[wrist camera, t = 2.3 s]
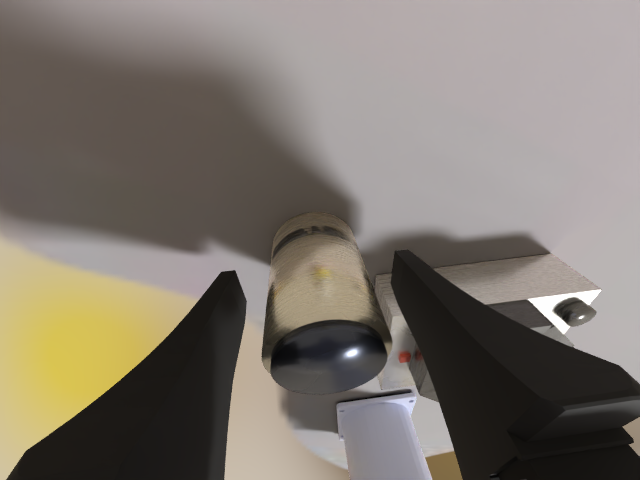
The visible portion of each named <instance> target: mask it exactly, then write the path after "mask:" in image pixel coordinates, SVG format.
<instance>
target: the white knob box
mask: <svg viewBox="0 0 640 480" xmlns="http://www.w3.org/2000/svg"><path fill="white" fill-rule="evenodd" d="M432 269H434V270H435V271H436V272H437V273H439V274H440V275H441V276H443V277H444V278H446V279H447V280H448V281H450V282H451V283H453V284H454V285H455V286H457V287H458V288H460V289H461V290H463V291H464V292H466V293H467V294H469V295H470V296H472V297H473V298H475V299H477V300H478V301H480V302H482V303H483V304H485V305H487V306H489V307H490V308H492V309H494V310H495V311H497V312H499V313H501V314H503V315H505V316H506V317H508V318H510V319H512V320H514V321H516V322H518V323H520V324H522V325H524V326H526V327H528V328H530V329H532V330H534V331H537V332H539V333H541V334H543V335H545V336H547V337H550V338H552V339H554V340H556V341H559V342H561V343H563V344H566V345H568V346H570V347H573V346H574V345H573V344H572V343H571V342H570V341H569V340H568V338H567V337H566V336H565V335H564V333H565V332H566V331H567V330H568V329H569V327H570V326H571V327H574V326H579V325H582V324H584V323H586V322H588V321H590V320H591V319H592V318H593V317H594V316H595V315H596V311H595V310H594V309H593V308H592V307H590V306H589V304H590V303H591V302H592V301H593V299H594V298H595V297H596V296H597V295H598V293H599V292H600V291H601V290H602V289H601V288H599V287H598V286H596V285H595V284H594V283H592V282H591V281H589V280H588V279H587V278H585V277H584V276H582V275H581V274H580V273H578V272H577V271H575V270H574V269H573V268H571V267H570V266H568V265H567V264H566V263H564V262H563V261H562V260H560V259H559V258H557V257H556V256H555V255H553V254H544V255H536V256H528V257H519V258H511V259H503V260H495V261H487V262H479V263H470V264H462V265H454V266H446V267H438V268H432ZM391 276H392V273H389V274H380V275H376V280H375V294H376V296H377V299H378V302H379V305H380V307H381V310H382V313H383V315H384V318H385V321H386V323H387V326H388V329H389V331H390V334H391V337H392V341H393V343H392V349H391V352H390V354H389V356H388V357H387V362H386V365H385V367H384V368H383V369H382V371H381V372H380V373H379V374H378V375H377V377H378V380H379V384H380V387H381V390H383V389H390V388H397V387H404V386H412V385H416V387H417V390H418V392H419V394H420V395H421V396H423V397H426V398H429V399H431V400H434V401H437V402H439V401H438V398H437V395H436V392H435V389H434V386H433V383H432V381H431V378H430V375H429V372H428V370H427V367H426V364H425V362H424V359H423V356H422V354H421V352H420V350H419V347H418V345H417V343H416V341H415V339H414V337H413V335H412V333H411V331H410V329H409V327H408V325H407V323H406V321H405V319H404V317H403V314H402V312H401V310H400V308H399V306H398V304H397V301H396V298H395V296H394V293H393V290H392V286H391ZM573 348H574V347H573Z"/></svg>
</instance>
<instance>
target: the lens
mask: <svg viewBox="0 0 640 480" xmlns="http://www.w3.org/2000/svg"><path fill="white" fill-rule="evenodd" d="M392 343H393V341H392V337H391V334H390V331H389V329H388V326H387V323H386V321H385V318H384V315H383V313H382V310H381V307H380V305H379V302H378V299H377V296H376V294H375V291H374V288H373V286H372V283H371V280H370V278H369V275H368V272H367V270H366V267H365V264H364V262H363V259H362V256H361V254H360V251H359V248H358V246H357V243H356V240H355V238H354V235H353V233H352V231H351V229H350V227H349V226H348V225H347V224H346V223H345V222H344V221H343V220H341V219H340V218H338V217H336V216H334V215H331V214H328V213H323V212H309V213H304V214H300V215H298V216H295V217H293V218H291V219H290V220H288V221H287V222H285V223H284V224H283V225H282V226H281V227H280V228H279V230H278V231H277V233H276V235H275V237H274V240H273V245H272V255H271V265H270V275H269V286H268V296H267V306H266V316H265V326H264V336H263V347H262V362H263V365H264V367H265V369H266V370H267V371H268V372H269V373H270V374H271V375H272V377H273V379H274V380H275V381H276V382H277V383H278V384H279V385H280V386H282V387H284V388H286V389H288V390H291V391H294V392H298V393H304V394H331V393H337V392H342V391H346V390H349V389H353V388H355V387H358V386H360V385H362V384H364V383H366V382H368V381H370V380H371V379H373V378H374V377H375V376H377V375H378V374H379V373H380V372H381V371H382V369H383V368H384V367H385V365H386V362H387V357H388V356H389V354H390V352H391V349H392Z"/></svg>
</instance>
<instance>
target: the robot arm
mask: <svg viewBox="0 0 640 480" xmlns="http://www.w3.org/2000/svg"><path fill="white" fill-rule="evenodd" d="M391 286H392V290H393V293H394V296H395V298H396V301H397V304H398V306H399V308H400V310H401V312H402V314H403V317H404V319H405V321H406V323H407V325H408V327H409V329H410V331H411V333H412V335H413V337H414V339H415V341H416V343H417V345H418V347H419V350H420V352H421V354H422V356H423V359H424V362H425V364H426V367H427V370H428V372H429V375H430V378H431V381H432V383H433V386H434V389H435V392H436V395H437V398H438V401H439V403H440V406H441V409H442V413H443V416H444V419H445V422H446V425H447V428H448V431H449V434H450V438H451V441H452V444H453V447H454V451H455V454H456V457H457V461H458V464H459V468H460V471H461V475H462V478H463V480H640V456H638V455H637V454H636V453H635V451H634V450H633V449H632V448H631V447H630V446H629V445H628V444H631V443H634V441H633V438H632V437H631V436H630V435H629V434H628V433H627V432H626V431H625V430H624V428H623V427H622V426H624V425H626V424H628V423H629V422H631V421H633V420H635V419H636V418H638V417H640V384H639V383H638V382H637V381H636V380H635V379H634V378H632V377H631V376H630V375H629V374H628V373H627V372H626V371H625V370H624V369H623V368H622V367H620V366H619V365H616V364H614V363H611V362H609V361H606V360H603V359H601V358H598V357H596V356H593V355H591V354H588V353H585V352H583V351H580V350H578V349H575V348H573V347H570V346H568V345H566V344H563V343H561V342H559V341H556V340H554V339H552V338H550V337H547V336H545V335H543V334H541V333H539V332H537V331H534V330H532V329H530V328H528V327H526V326H524V325H522V324H520V323H518V322H516V321H514V320H512V319H510V318H508V317H506V316H505V315H503V314H501V313H499V312H497V311H495V310H494V309H492V308H490V307H489V306H487V305H485V304H483V303H482V302H480V301H478V300H477V299H475V298H473V297H472V296H470V295H469V294H467V293H466V292H464V291H463V290H461V289H460V288H458V287H457V286H455V285H454V284H453V283H451V282H450V281H448V280H447V279H446V278H444V277H443V276H441V275H440V274H439V273H437V272H436V271H435V270H434V269H432V268H431V267H430V266H428V265H427V264H426V263H425V262H423V261H422V260H421V259H419V258H418V257H417V256H416V255H414V254H413V253H412V252H410V251H409V250H401V251H395V254H394V261H393V268H392V276H391ZM246 302H247V301H246V298H245V296H244V293H243V290H242V287H241V285H240V282H239V279H238V277H237V274H236V271H235V270H233V271H225V272H221V273H220V274H219V275H218V277H217V278H216V279H215V280H214V282H213V283H212V284H211V286H210V287H209V288H208V289H207V291H206V292H205V293H204V294H203V296H202V297H201V298H200V300H199V301H198V302H197V303H196V304H195V306H194V307H193V308H192V309H191V311H190V312H189V313H188V314H187V315H186V316H185V318H184V319H183V320H182V321H181V322H180V323H179V324H178V326H177V327H176V328H175V329H174V330H173V331H172V332H171V333H170V334H169V335H168V336H167V337H166V338H165V339H164V340H163V342H161V343H160V344H159V346H157V347H156V348H155V349H154V350H153V351H152V352H151V353H150V354H149V355H148V356H147V357H146V358H145V359H144V360H143V361H141V362H140V363H139V364H138V365H137V366H136V367H135V368H134V369H132V370H131V371H130V372H129V373H128V374H127V375H126V376H124V377H123V378H122V379H121V380H120V381H119V382H117V383H116V384H115V385H114V386H113V387H111V388H110V389H109V390H108V391H106V392H105V393H104V394H103V395H102V396H100V397H99V398H98V399H96V400H95V401H94V402H93V403H91V404H90V405H89V406H87V407H86V408H85V409H84V410H82V411H81V412H80V413H78V414H77V415H76V416H75V417H73V418H72V419H70V420H69V421H68V422H66V423H65V424H63V425H62V426H60V427H59V428H58V429H56V430H55V431H54V432H52V433H51V434H49V436H47V437H45V438H44V439H42V440H41V441H40V442H38V443H37V444H35V445H34V446H32V447H31V448H30V449H28V450H27V451H26V452H25V453H24V455H23V456H22V457H21V459H20V460H19V462H18V463H17V465H16V466H15V468H14V469H13V471H12V472H11V474H10V475H9V476H8V478H7V479H6V480H224V472H225V457H226V443H227V432H228V420H229V410H230V401H231V392H232V384H233V378H234V372H235V367H236V362H237V358H238V353H239V348H240V343H241V339H242V333H243V329H244V324H245V316H246ZM416 399H417V396H416V394H415V393H406V394H399V395H392V396H385V397H378V398H371V399H364V400H357V401H350V402H343V403H338V404H337V405H336V409H337V421H338V434H339V440H344V443H345V450H346V457H347V464H348V471H349V478H350V480H432V478H431V475H430V472H429V469H428V466H427V463H426V460H425V457H424V454H423V451H422V449H421V446H420V443H419V440H418V437H417V434H416V431H415V428H414V425H413V422H412V419H411V413H412V410H413V407H414V405H415V402H416Z"/></svg>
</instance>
